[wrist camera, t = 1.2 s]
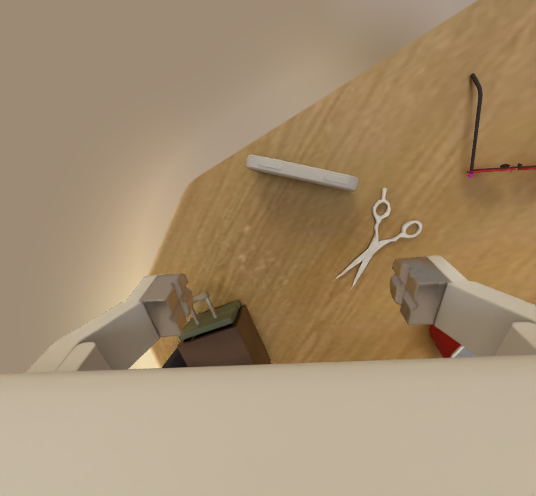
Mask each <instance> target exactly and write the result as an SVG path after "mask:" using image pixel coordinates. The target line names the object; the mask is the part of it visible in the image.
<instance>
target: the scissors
mask: <svg viewBox="0 0 536 496" xmlns="http://www.w3.org/2000/svg"><path fill="white" fill-rule="evenodd" d="M386 191H387V189H386V188H383V189H382V196H381V200H378V201H377V202H376V203H375V204H374V206H373V207H372V213H373V216H374V217H375V220H376V224H375V225H374V227H373V228H374V230H375V235H374V237H373V239H372V241H371V243H370V245H369V248H368V249H367V250H366V251H365V252H364V253H362V254H361V255H360V256H359V257H358V258H357V259H355V260H354V261H353V262H352V263H351V264H350V265H349V266H348V267H347V268H346V269H345V270H344V271H343V272H342V273H341V274H339V275H338V276H337V277H336V279H337V278H338V277H340V276H341V275H343V274H344V273H346V272H347V271H348V270H350V269H351V268H353V267H354V266H355V265H357V264H358V263H360V262H361V261H362V260H363V261H362V264H361V266H360V268H359V271H358V273H357V275H356V278H355V280H354V283H353V285H352V287H353V286H354V284H355V283H356V281H357V280H358V278H359V277H360V275H361V273H362V272H363V270H364V269H365V267H366V266H367V264H368V262H369V261H370V259H371V257H372V256H373V254H374V253H375V252H376V251H377V250H379V249H380V248H381V247H382V246H384V245H385V244H387V243H388V242H391V241H396V240H397V239H398V238H400V237H406V238H411V237H415V236H417V235H418V234H419V233H420V232H421V230H422V224H421V222H419V221H415V220H411V221H409V222H406V223H405V224H403V225H402V229H401V233H399V234H398V235H397V236H396V237H393V238H390V239H387V240H381V241H378V225H379V223H380V221H381V220H382V219H383V218H385V217H387V216H389V214H390V204H389V202H388V201H386V200H385V194H386ZM380 203H385V204H386V206H387V209H386V211H385V213H384V214H383V215H381V216H378V215H377V214H376V208H377V206H378V205H379V204H380ZM413 223H416V224H417V225H418V230H417V231H416V232H415V233H414V234H412V235H407V234H406V233H405V231H406V228H407V227H408V226H410V225H411V224H413ZM352 287H351V289H352Z"/></svg>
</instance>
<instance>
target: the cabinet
mask: <svg viewBox="0 0 536 496" xmlns="http://www.w3.org/2000/svg"><path fill="white" fill-rule="evenodd" d="M238 313H239V314H238V316H237V319H236V321H235V323H234V326H232V327H229V328H226V329H223V330H220V331H217V332H214V333H211V334H208V335H205V336H202V337H199V338H196V339H193V340H191V338H192V337H190V338H187V339H184V340H182V341H181V342H180V343H179V345H178V346H177V348H178V349H179V351H180V353H181V355H182V357H183V359H184V361H185V363H186V364H187V366H188V367H208V366H234V365H261V364H270V358H269V356H268V353H267V351H266V349H265V347H264V345H263V343H262V340H261V338H260V336H259V334H258V332H257V329H256V327H255V325H254V323H253V321H252V319H251V316H250V314H249V312H248V310H247V308H246V306H245V305H243V306H240V308H239V310H238Z"/></svg>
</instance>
